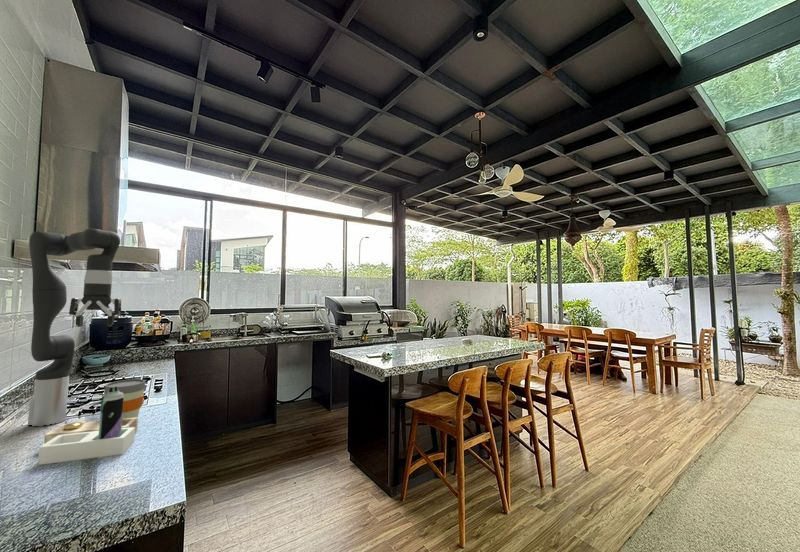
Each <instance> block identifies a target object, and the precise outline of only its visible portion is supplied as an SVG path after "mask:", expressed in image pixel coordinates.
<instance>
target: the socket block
mask: <svg viewBox="0 0 800 552" xmlns="http://www.w3.org/2000/svg"><path fill="white" fill-rule="evenodd" d="M138 422H139V416H138V417H135V418H124V419H122V427H121V428H131V427H135V434H136V433H137V432H138V425H139V423H138ZM99 423H100V420H97V421H96V420H94V421H84V422H82V427H80V428H78V429H73V430H64V426H65V425H67V424H68V423H64V424H60V425H58V426H57V427H56V428H53V429H51V431H49V432H48V433H45V434H44V438H43V441H44V442H43V445H44V444H45V443H47V442H48V441H50V440H52V439H53V438H55V437H56V436H58V435H64V434H73V433H83V432H92V431H99Z"/></svg>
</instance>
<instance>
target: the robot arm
mask: <svg viewBox="0 0 800 552" xmlns="http://www.w3.org/2000/svg"><path fill="white" fill-rule="evenodd" d="M120 244H121V238H120V235H119V234H118V233H116V232H115V231H111V230H110V231H109V230H104V229H97V228H86V229H84V230H83V231H80V232H74V233H71V234H70V235H66V234H61V233H58V232H57V233H56V232H49V231H48V232H47V231H43V230H42V231H41V230H35V231H33V232H32V233H31V234H30V236H29V240H28V246H29V247H28V249H29V255H30V260H31V261H30V262H31V269H32V271H31V272H32V289H31V290H32V309H33V310H32V311H33V313H32V314H33V315H32V316H33V319H32V320H33V321H32V322H33V324H32V325H33V326H32V333H31V343H30V344H31V346H30V350H31V356H32V358H33V360H34V361H37V362H46V361H47V362H48V361H52V363H50V364H49V365H48V366H46V367H44V368H41V369H40V370H37V371H36V372H35V376H34V388H33V396H32V397H33V399H30V400H29V409H28V417H27V426H28V425H32V426H31V427H34V426H39V427H44V426H43V425H47V426H51V425H50V424H52V425H56V424H59V423H62V422H64V421H66V419H67V407H68V398H69V397H68V395H69V387H70V386H69V384H70V374H71V370H72V368H73V367H72V366H73V361H74V355H75V347H76V345H75V344H76V343H75V339H74V338H73V336H71V335H69V334H67V335H65V334H64V335H63V334H62V335H51V328H52V324H53V322H54V320H55V319H56V318H57V317H58V315H60V313H61V312H62V310H63V309H64V308H65V306H66V304H67V286H66V284H65V282H64V281H63V279H62V278H60V276H59V275H58V274H57V273H56V272H55V271H54V270H53V268H52V267H51V265H50V263H49V259H48V256H54V257H55V256H58V257H62V256H66V255H70V254H72V253H75V252H78V251H88V250H94V249H102V252H101V253H100V254H99V253H97V254H96V253H94V254H90V255H88V256H87V258H86V259H87V260H86V271H85V274H84V282H83V283H84V285H83V297H82V298H78V297H73V298H72V297H71V301H70V306H69V311H68V314H69V315H71V316H75V325H76V326H77V327H78V328H81V327H83V325H84V315H85V314H86V313H87V312H88V311H104V312H105V314H107V320H106V322H107V323H106V327H112V326H113V325H114V324H115V317H116V316H119V315H121V314H122V299H121V298H112V297H111V295H112V288H113V287H112V286H113V285H112V284H113V262H114V259H115V257H116V256H115V255H116V253H117V251H118V250H119V248H120V246H121V245H120ZM81 303H82V304H83V306H82V307H81V308H79V305H80V304H81ZM111 303H112V305H114V306H113V307H114V311H113V309H112V308H111V306H110V304H111ZM78 309H79V310H78ZM55 423H56V424H55Z"/></svg>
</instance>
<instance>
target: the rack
mask: <svg viewBox="0 0 800 552" xmlns="http://www.w3.org/2000/svg"><path fill="white" fill-rule="evenodd" d="M135 434H136V433H135V427H131V428H121V436H120V437H116V438H107V439H98V436H99V431H92V432H83V433H73V434H64V435H58V436H56V437H55V438H53V439H52V440H50V441H48V442H47V443H45V444H44V443H43V444H42V445H41V446H39V449H38V462H37V466H40V465H48V464H55V463H56V464H58V463H62V462H73V461H78V460H81V461H82V460H87V459H94V458H95V459H96V458H102V457H110V456H112V457H113V456H118V455H123V454H124V453H126V451H127V450H129V448H130V447H131V446H132V445H133V444H134V443H135V438H136V437H135Z"/></svg>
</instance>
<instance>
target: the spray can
mask: <svg viewBox="0 0 800 552" xmlns="http://www.w3.org/2000/svg"><path fill="white" fill-rule="evenodd" d="M123 394H124V393H122V392H119V390H118V389H117V387H113V388H110V390H109V391H108V392H107V393H106V394H103V395H101V399H100V411H99V412H100V413H99V421H100V423H99V436H98V439H107V438H116V437H120V436H121V427H122V413H123V400H124V395H123Z"/></svg>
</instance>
